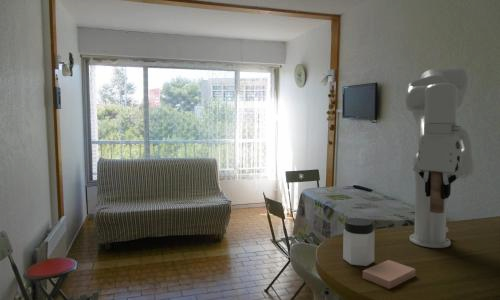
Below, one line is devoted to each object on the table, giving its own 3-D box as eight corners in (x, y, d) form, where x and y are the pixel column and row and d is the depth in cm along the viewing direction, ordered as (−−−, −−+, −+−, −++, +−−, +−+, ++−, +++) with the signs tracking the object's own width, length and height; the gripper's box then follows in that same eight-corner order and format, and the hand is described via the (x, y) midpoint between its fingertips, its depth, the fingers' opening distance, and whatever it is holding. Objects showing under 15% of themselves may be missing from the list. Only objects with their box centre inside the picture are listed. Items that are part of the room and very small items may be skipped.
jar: (379, 264, 105) (380, 224, 104) (354, 267, 103) (354, 226, 102) (362, 253, 113) (362, 216, 112) (339, 256, 111) (339, 218, 110)
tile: (388, 259, 103) (362, 270, 96) (415, 268, 97) (389, 281, 90) (388, 267, 103) (362, 279, 96) (415, 277, 97) (389, 290, 90)
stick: (433, 209, 101) (434, 167, 100) (445, 211, 98) (447, 168, 97) (427, 211, 99) (428, 168, 98) (440, 213, 96) (441, 169, 95)
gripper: (479, 130, 93) (476, 200, 94) (416, 129, 106) (414, 190, 107) (466, 131, 88) (464, 204, 90) (402, 130, 101) (401, 194, 103)
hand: (437, 196), depth 98 cm, fingers closed on stick, 3 cm apart
